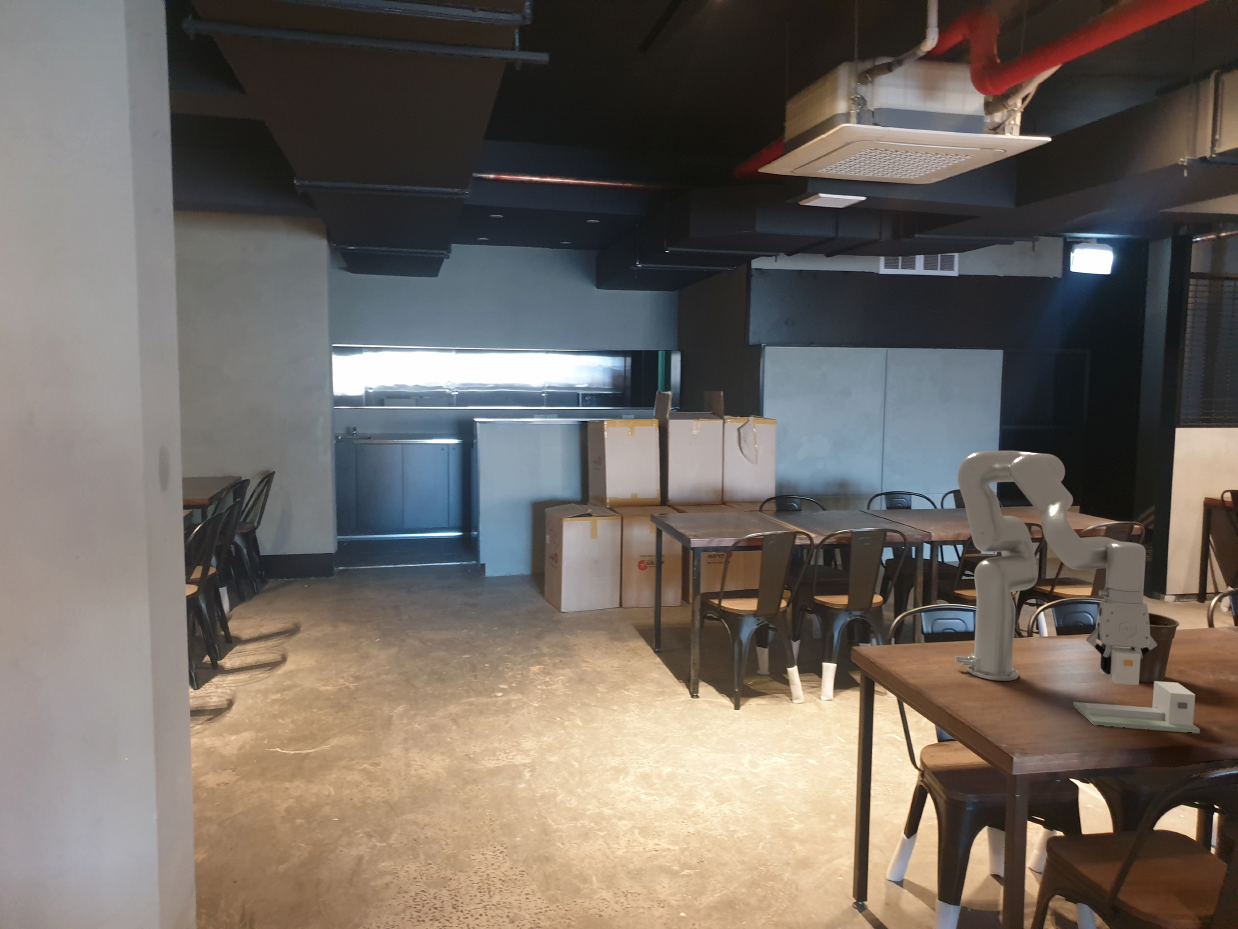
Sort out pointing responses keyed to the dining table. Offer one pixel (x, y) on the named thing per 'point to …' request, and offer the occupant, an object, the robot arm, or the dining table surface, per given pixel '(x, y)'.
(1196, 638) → the dining table surface
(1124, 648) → the block
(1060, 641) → the dining table surface
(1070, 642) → the dining table surface
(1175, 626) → the plant pot
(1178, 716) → the din panel
